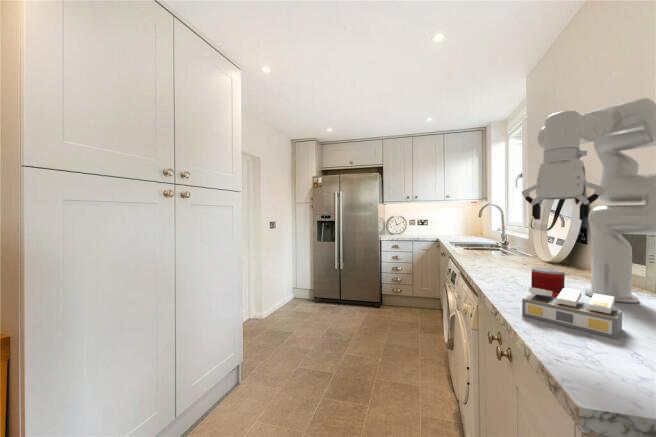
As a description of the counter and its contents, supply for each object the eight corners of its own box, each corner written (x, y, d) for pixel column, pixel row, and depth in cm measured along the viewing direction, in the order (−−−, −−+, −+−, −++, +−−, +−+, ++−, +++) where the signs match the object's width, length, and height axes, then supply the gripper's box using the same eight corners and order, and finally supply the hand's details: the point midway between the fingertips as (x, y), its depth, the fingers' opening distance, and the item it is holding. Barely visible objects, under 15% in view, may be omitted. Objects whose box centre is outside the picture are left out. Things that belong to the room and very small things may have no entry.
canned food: (570, 309, 79) (570, 272, 79) (539, 307, 81) (540, 271, 81) (554, 301, 87) (554, 267, 86) (526, 299, 88) (526, 266, 88)
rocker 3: (594, 298, 69) (593, 292, 68) (614, 301, 66) (614, 296, 65) (588, 309, 64) (588, 303, 64) (610, 313, 62) (610, 307, 61)
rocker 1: (536, 293, 78) (536, 288, 78) (552, 296, 75) (552, 290, 75) (528, 292, 74) (529, 286, 74) (545, 295, 71) (545, 289, 71)
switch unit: (532, 308, 80) (532, 292, 80) (621, 328, 65) (622, 309, 65) (521, 315, 74) (521, 298, 74) (616, 339, 60) (617, 318, 60)
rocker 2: (563, 292, 73) (563, 287, 73) (581, 296, 70) (581, 290, 70) (556, 302, 69) (556, 297, 69) (575, 306, 66) (575, 301, 66)
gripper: (607, 155, 69) (605, 221, 69) (527, 164, 83) (525, 219, 83) (603, 149, 65) (601, 219, 64) (519, 160, 78) (517, 218, 78)
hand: (558, 219), depth 73 cm, fingers open, 9 cm apart
